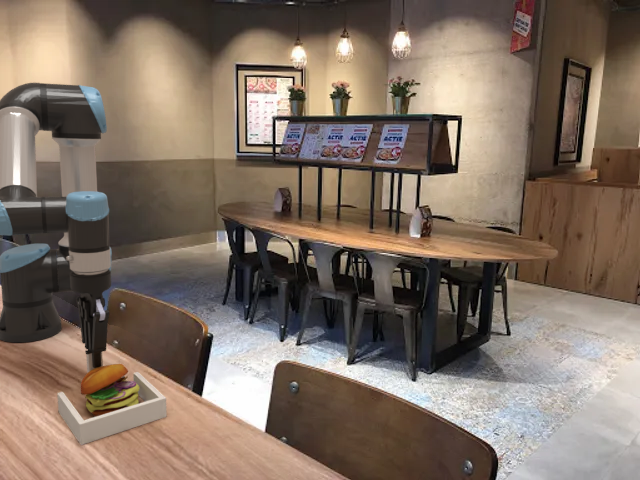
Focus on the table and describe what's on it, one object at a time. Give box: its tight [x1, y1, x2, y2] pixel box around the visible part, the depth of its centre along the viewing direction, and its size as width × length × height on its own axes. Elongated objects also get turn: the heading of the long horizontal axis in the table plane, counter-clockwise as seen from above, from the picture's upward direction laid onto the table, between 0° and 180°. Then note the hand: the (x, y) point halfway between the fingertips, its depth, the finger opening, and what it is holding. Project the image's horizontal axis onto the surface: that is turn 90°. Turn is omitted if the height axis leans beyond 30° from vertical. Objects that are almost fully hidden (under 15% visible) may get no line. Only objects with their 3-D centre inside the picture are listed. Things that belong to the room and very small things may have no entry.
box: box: [57, 371, 167, 446], centre depth 104 cm, size 14×16×4 cm
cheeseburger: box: [80, 363, 140, 417], centre depth 106 cm, size 10×11×10 cm
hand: (95, 379), depth 110 cm, fingers closed
